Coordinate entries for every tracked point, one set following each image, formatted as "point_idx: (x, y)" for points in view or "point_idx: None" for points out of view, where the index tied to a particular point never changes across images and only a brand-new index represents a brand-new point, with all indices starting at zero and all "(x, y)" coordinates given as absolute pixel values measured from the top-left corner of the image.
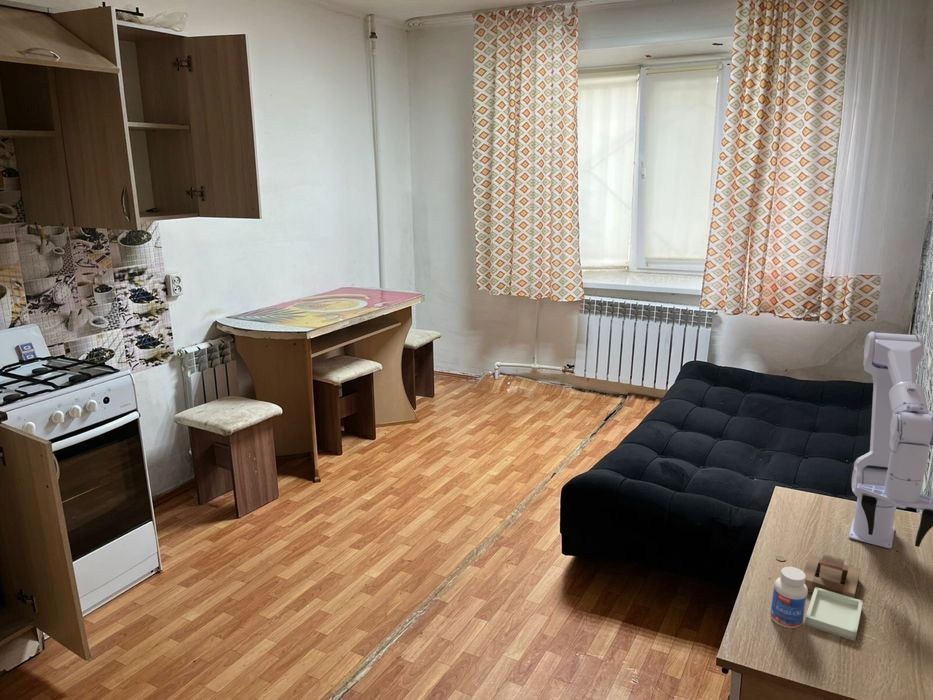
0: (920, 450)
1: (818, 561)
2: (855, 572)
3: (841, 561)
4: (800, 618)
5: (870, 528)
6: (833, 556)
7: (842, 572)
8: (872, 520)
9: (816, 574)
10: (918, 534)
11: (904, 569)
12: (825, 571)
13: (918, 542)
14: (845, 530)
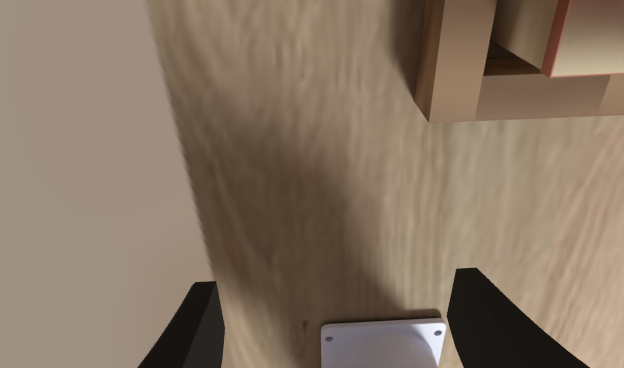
0: None
1: (610, 81)
2: (450, 81)
3: (576, 29)
4: None
5: (494, 298)
6: (613, 60)
7: (498, 69)
8: (529, 355)
9: None
10: (187, 353)
11: (270, 248)
12: None
13: (192, 302)
14: (450, 347)
